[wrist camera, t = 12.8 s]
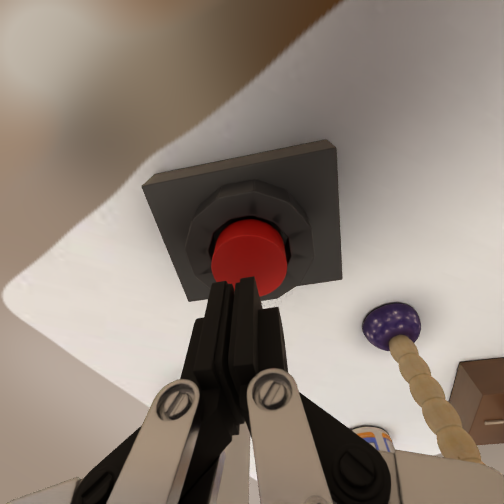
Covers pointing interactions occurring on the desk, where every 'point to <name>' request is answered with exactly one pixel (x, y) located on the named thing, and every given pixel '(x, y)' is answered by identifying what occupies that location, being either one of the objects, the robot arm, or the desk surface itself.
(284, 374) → the robot arm
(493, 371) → the dimmer panel
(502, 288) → the desk surface
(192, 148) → the desk surface
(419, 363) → the toy lamp
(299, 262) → the switch block
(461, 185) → the desk surface
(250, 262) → the button
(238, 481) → the travel mug
